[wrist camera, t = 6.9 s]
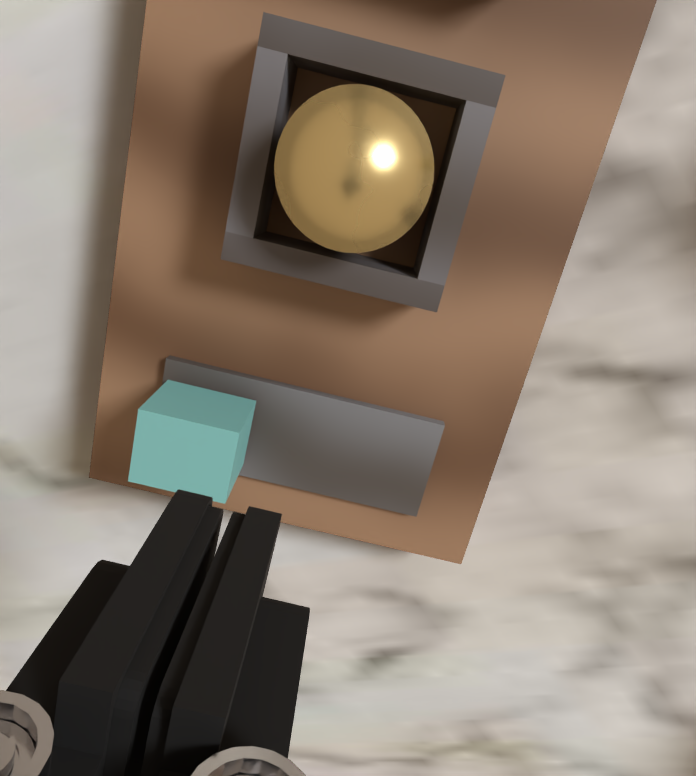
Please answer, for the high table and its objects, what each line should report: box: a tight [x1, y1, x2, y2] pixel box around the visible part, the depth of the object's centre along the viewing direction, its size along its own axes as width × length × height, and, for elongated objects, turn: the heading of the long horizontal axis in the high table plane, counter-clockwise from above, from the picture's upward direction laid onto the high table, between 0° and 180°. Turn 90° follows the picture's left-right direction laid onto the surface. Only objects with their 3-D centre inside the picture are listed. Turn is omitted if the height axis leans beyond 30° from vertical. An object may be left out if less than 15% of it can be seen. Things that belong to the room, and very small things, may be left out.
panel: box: [89, 0, 657, 564], centre depth 20 cm, size 25×14×5 cm, turn 167°
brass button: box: [274, 84, 434, 253], centre depth 17 cm, size 4×4×2 cm
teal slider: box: [128, 380, 256, 504], centre depth 20 cm, size 2×3×3 cm
